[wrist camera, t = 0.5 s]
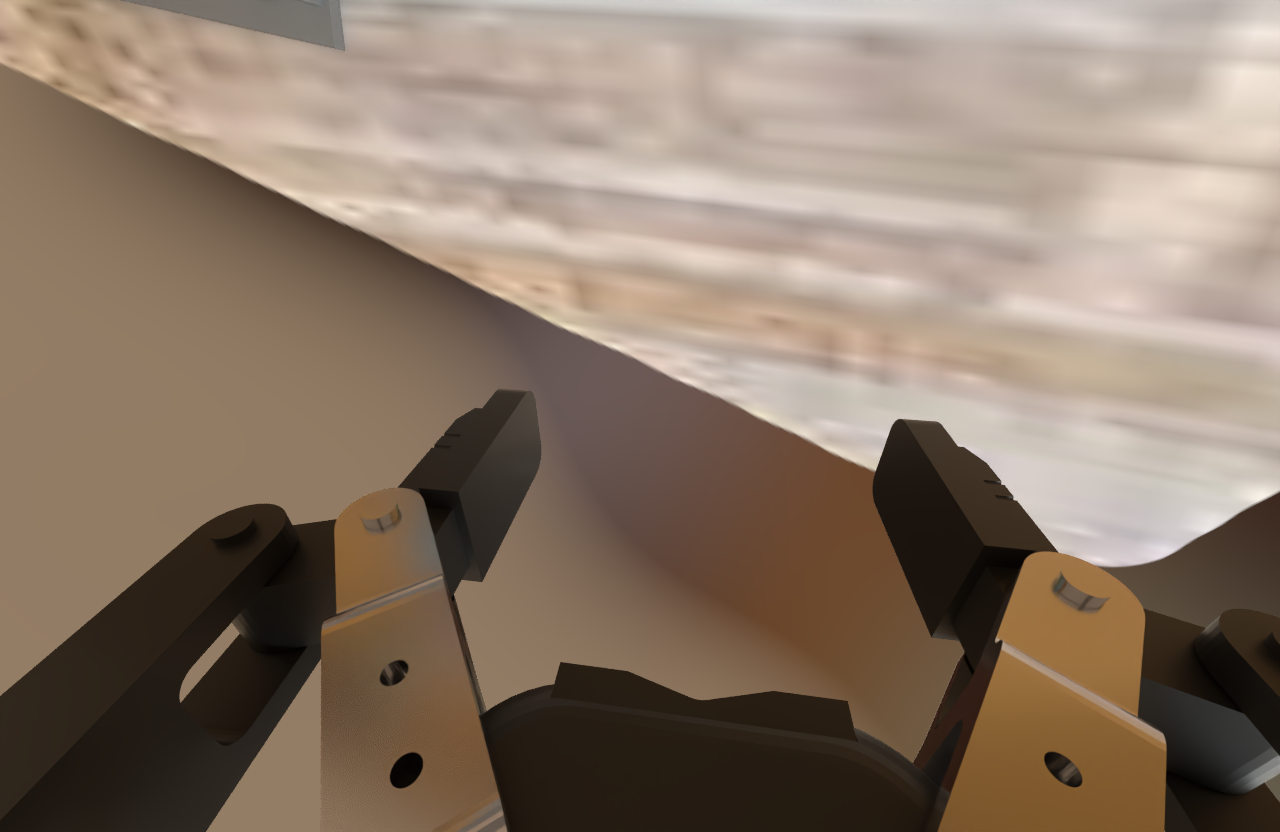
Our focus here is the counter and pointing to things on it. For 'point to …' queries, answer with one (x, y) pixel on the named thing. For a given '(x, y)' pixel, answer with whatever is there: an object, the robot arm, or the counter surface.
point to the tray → (268, 16)
